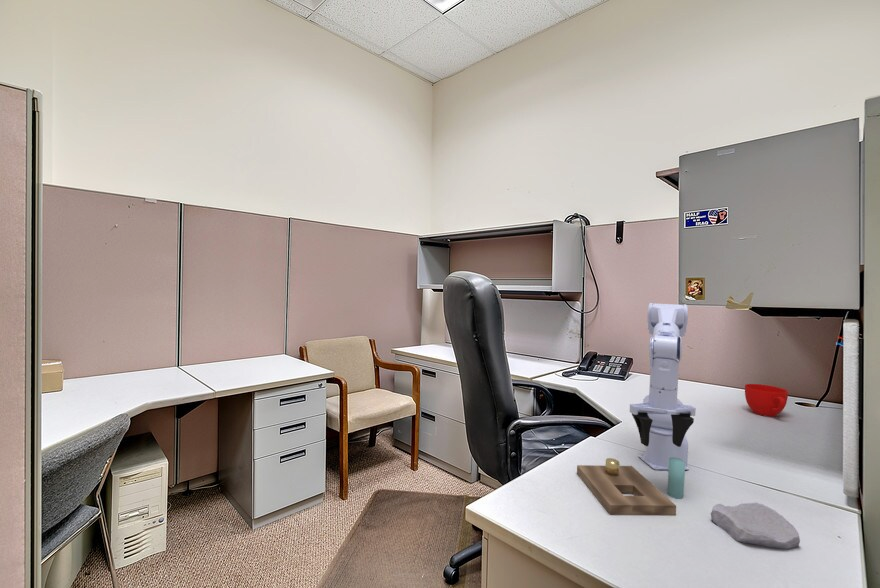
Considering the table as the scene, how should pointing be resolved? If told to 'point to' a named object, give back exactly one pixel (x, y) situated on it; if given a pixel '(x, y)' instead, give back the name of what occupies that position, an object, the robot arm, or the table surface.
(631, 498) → the pin board
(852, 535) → the table surface
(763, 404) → the ceramic cup
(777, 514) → the stone block
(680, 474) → the teal pin
